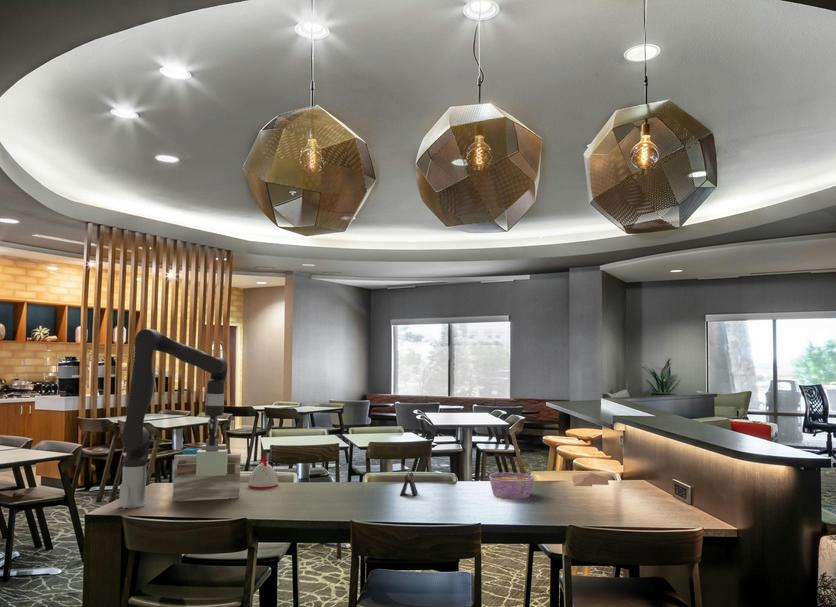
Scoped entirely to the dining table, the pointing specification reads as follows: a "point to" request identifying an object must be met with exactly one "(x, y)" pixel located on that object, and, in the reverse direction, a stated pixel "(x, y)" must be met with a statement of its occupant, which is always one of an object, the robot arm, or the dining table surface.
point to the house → (589, 480)
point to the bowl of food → (511, 485)
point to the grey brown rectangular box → (205, 480)
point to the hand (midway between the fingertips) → (211, 445)
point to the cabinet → (212, 459)
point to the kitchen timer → (263, 476)
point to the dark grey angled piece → (412, 485)
